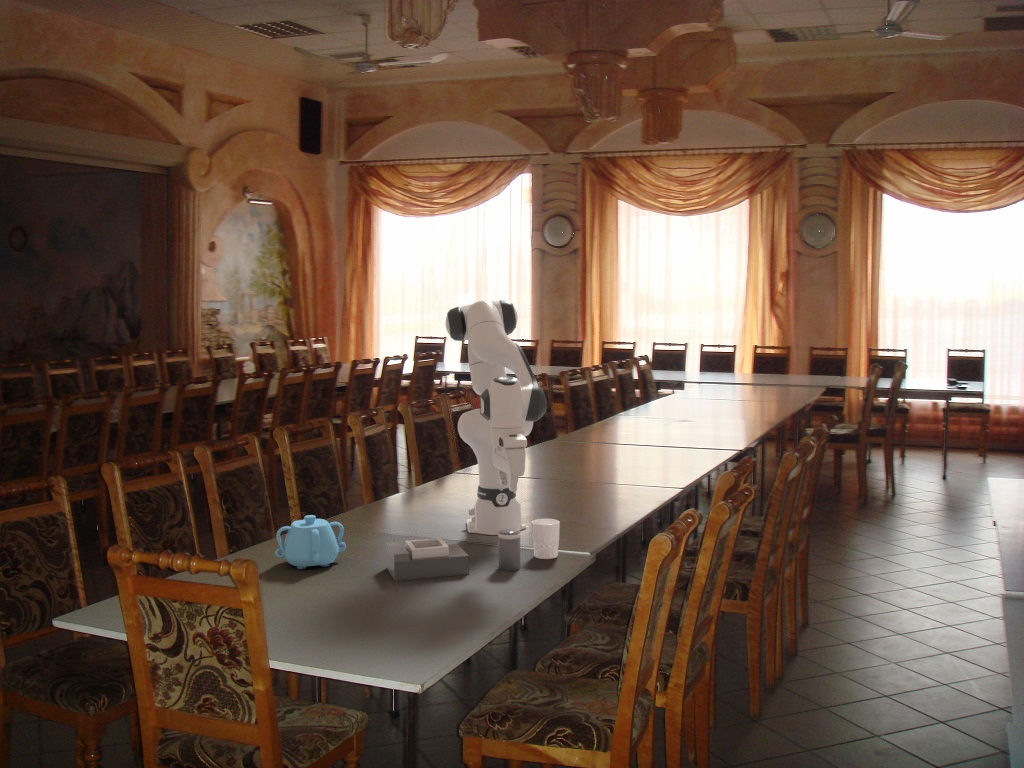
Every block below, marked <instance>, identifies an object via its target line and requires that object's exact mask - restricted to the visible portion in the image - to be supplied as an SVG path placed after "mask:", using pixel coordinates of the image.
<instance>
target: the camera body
mask: <svg viewBox="0 0 1024 768" xmlns="http://www.w3.org/2000/svg"><path fill="white" fill-rule="evenodd" d="M404 543H405V546H404ZM404 543H402V542H401V541H393V542H386V543H385V548H386V549H385V552H386V553H385V554H386V569H387V571H388V572H389V574H390V576H391V577H392V579H393V580H394V582H398V581H408V580H418V579H429V578H431V579H432V578H438V577H439V578H441V577H451V576H452V577H453V576H462V575H463V576H464V575H469V574H470V565H469V564H470V560H469V559H470V558H469V557H470V555H469V554H468V553H467V552H466V551H465V550H464V549H463V548H462V547H461V546H460V545H459V543H454V544H447V543H446V542H445V541H444V540H443V539H442V537H437V538H425V539H412V540H405V542H404Z"/></svg>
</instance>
